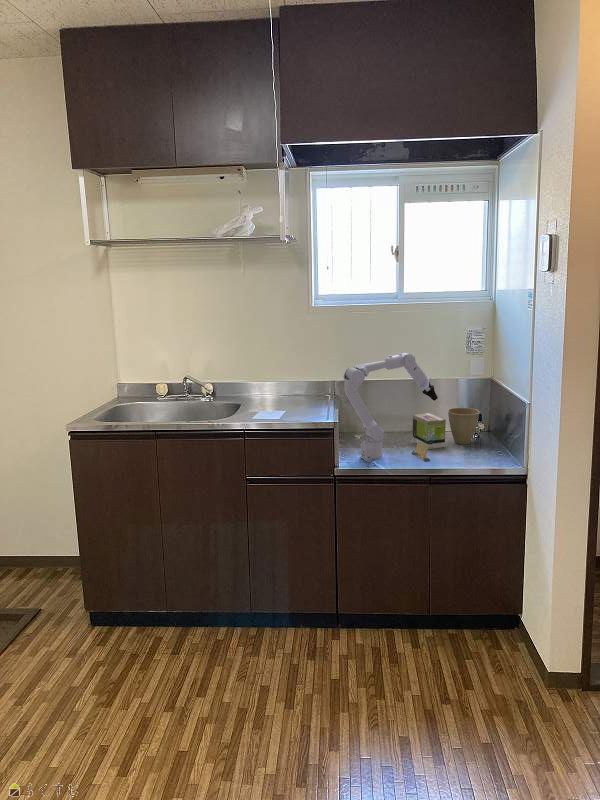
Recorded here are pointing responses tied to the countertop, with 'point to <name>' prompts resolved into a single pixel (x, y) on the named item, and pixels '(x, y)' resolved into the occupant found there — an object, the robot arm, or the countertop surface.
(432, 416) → the tea box
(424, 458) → the hinge base
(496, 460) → the countertop surface
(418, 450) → the tan flat block
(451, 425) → the plant pot
